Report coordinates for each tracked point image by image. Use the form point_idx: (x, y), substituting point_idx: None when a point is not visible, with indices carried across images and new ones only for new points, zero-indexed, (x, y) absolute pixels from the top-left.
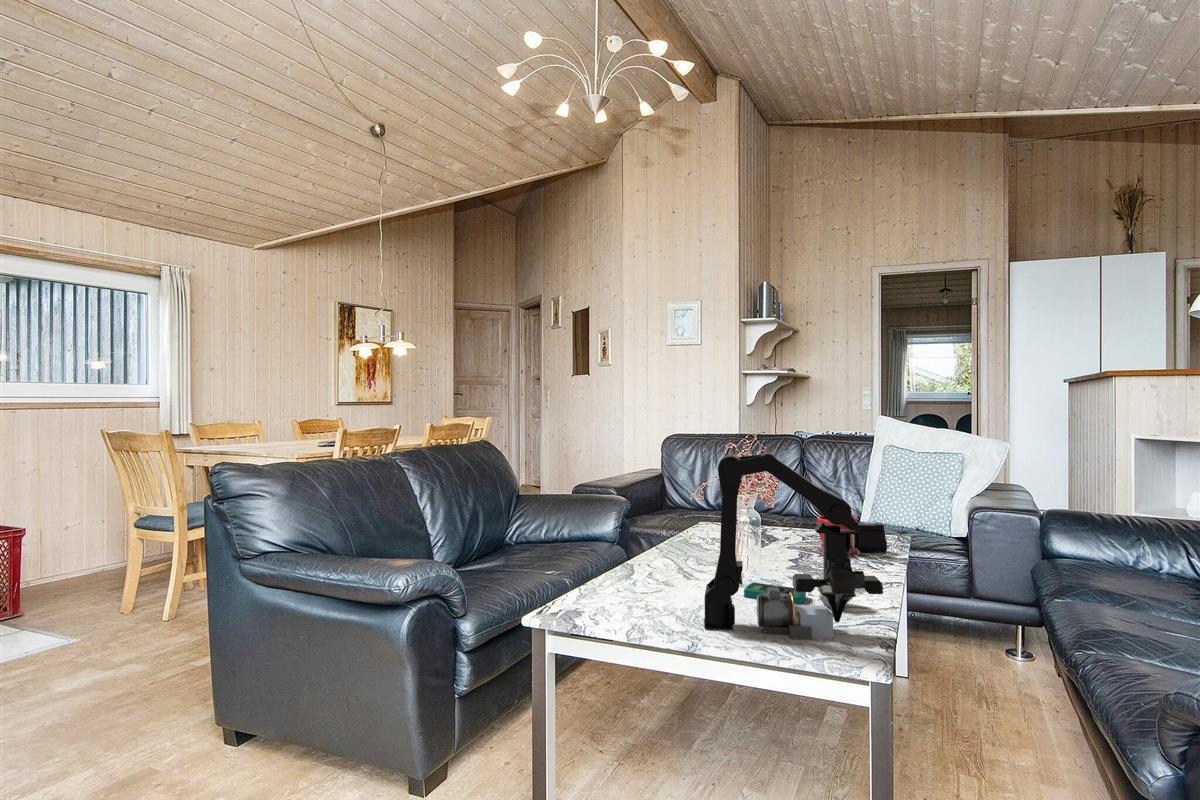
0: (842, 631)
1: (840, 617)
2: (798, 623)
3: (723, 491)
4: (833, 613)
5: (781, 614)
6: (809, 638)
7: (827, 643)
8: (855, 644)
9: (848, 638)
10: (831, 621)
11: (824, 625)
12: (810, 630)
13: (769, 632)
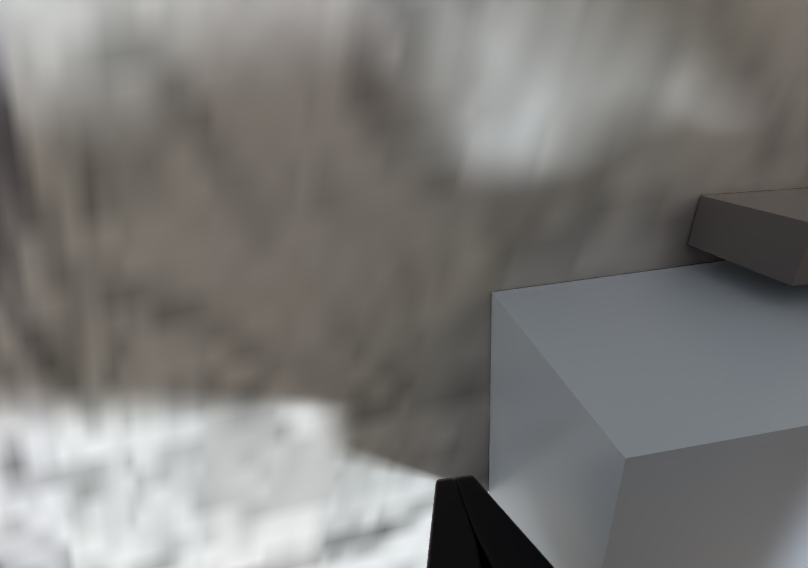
0: (380, 443)
1: (436, 524)
2: None
3: None
4: (540, 558)
5: None
6: (730, 196)
7: (592, 116)
8: (305, 128)
9: (355, 297)
10: (588, 380)
11: (636, 340)
12: (801, 218)
13: None
